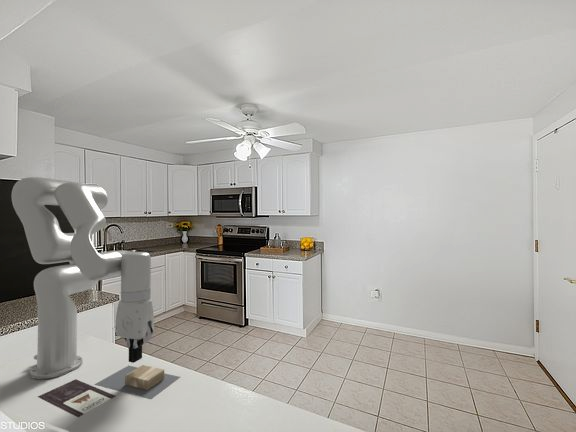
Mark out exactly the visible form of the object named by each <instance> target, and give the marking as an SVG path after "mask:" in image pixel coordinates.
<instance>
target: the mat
mask: <svg viewBox="0 0 576 432" xmlns="http://www.w3.org/2000/svg"><path fill="white" fill-rule="evenodd" d="M137 368H138V366H132V365H129V364H128V365H127V366H125V367H123V368H121V369H120V370H119V369H118V371H116V372H114V373H112V374H111V375H109V376H107V377H106V378H103V379H101V380H99V381H98V382H96V383H94V385H95V386H99V387H103V388H107V389H111V390H115V391H118V392H120V393H121V392H122V393H126V394H128V395H129V394H130V395H134V396H138V397H141V398H146V399H147V400H153V398H156V396H158V395H159V394H160V393H161V392H163V391H164V390H165V389H168V387H170V386H171V385H173V383H175V382H177V380H179V379H180V378H181V376H178V375H173V374H168V373H165V372H164V379H163V380H161V381H160V382H158V383H157V384H156V385H154V386H153V387H151V388H150V389H148V390H145V389H141V388H137V387H133V386H129V385H125V375H126V374H128V373H130V372H132V371H133V370H135V369H137Z"/></svg>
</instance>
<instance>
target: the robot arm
mask: <svg viewBox="0 0 576 432" xmlns="http://www.w3.org/2000/svg"><path fill="white" fill-rule="evenodd" d="M108 199H109V196H108V194H107V192H106V191H105V189H103V187H101V186H99V185H97V184H90V183H82V182H75V181H71V180H70V181H69V180H61V179H54V178H48V177H39V176H34V177H33V176H32V177H31V176H28V177H23V178H21V179H19V180H18V181H16V183H14V185H13V187H12V190H11V202H12V207H13V209H14V211H15V213H16V215H17V216H18V218H19V221H20V222H21V223H22V225H23V228H24V233H25V237H26V240H27V243H28V247H29V250H30V253H31V254H30V255H31V256H32V258H33V260H34V261H35V262H36V263H38V264H40V265H51V264H52V265H53V264H59V263H60V264H61V263H67V262H69V264H64V265H58V266H57V265H56V266H50V267H48V268H45V269H43V270H41V271H40V272H38V273H37V274H36V275H35V277H34V280H33V290H34V292H35V297H36V304H37V354H35V355H34V356H33V360H35V361H36V365H35V366H34V367H32V369H30V373H29V375H30V377H31V378H32V379H36V380H45V379H51V378H52V379H53V378H57V377H60V376H63V375H66V374H68V373H72V372H73V371H75V370H77V369H78V368H79V367H80V366H82V364H83V358H82V356H80V355H77V353H78V352H77V350H78V349H77V348H78V346H77V343H78V342H77V340H78V339H77V336H78V311H77V310H78V308H77V305H76V303H75V302H74V301H73V299H72V298H71V296H70V295H73V294H77V293H81V292H85V291H89V290H91V289H93V288H94V287H96V286H97V285H98V283H99V281H102V280H106V279H110V278H115V277H120V300H119V301H118V304H117V307H116V308H117V310H116V315H115V328H114V330H115V335H116V336H118V337H120V338H122V339H123V340H125V342H126V347H127V348H128V363H133V364H134V363H136V362H138V361H139V360H141V359H143V346H144V345H145V343H148V342H151V341H153V338H152V334H154V329H155V315H154V306H153V301H152V299H151V286H152V283H151V281H152V279H151V278H152V277H151V272H152V271H151V270H152V268H151V267H152V265H151V264H152V258H151V255H150V253H148V252H146V251H130V250H125V249H124V250H123V249H122V250H110V251H101V252H98V251H97V249H96V248H95V246H94V245H93V242H92V240H91V236H92V235H94V234H95V233H98V232H99V231H100V230H102V229H103V228H104V227H105V226H106V222H107V220H106V216H105V215H104V214H103V212H102V211H101V210H103V209H105V208H106V207H107V205H108V201H109V200H108ZM46 205H49V206H59V208H60V209H61V211H62V212H63V214H64V216H65V217H66V219H67V221H68V222H69V224H70V226H71V227H72V229H73V230H74V232H68V233H67V232H63V231H62V229H61V227H60V223H59V221H58V219H57V217H56V216H55V214H53V212H52V211H50V210H49V209H48V208H47V207H46Z"/></svg>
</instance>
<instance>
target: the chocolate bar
mask: <svg viewBox="0 0 576 432" xmlns="http://www.w3.org/2000/svg"><path fill="white" fill-rule="evenodd" d="M37 397H38V398H39V399H41V400H43V401H44V402H47V403H48V404H51V405H53V406H55V407H57V408H59V409H61V410H62V411H64V412H67V413H69V414H70V415H73V416H74V417H77V418H80V417H81V416H83V415H85V414H87V413H88V412H90V411H92V410H93V409H95V408H97V407H99V406H101V405H103V404H105V403H106V402H109V401H110V400H112V399H113V398H116V395H115V394H112V393H110V392H108V391H106V390H103V389H100V388H98V387H95V386H94V385H91V384H88V383H85V382H84V381H81V380H78V379H73V380H71V381H69V382H67V383H64V384H62V385H60V386H58V387H55V388H54V389H51V390H49V391H47V392H45V393H42V394H40V395H38V396H37Z"/></svg>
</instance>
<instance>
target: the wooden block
mask: <svg viewBox="0 0 576 432" xmlns="http://www.w3.org/2000/svg"><path fill="white" fill-rule="evenodd" d="M137 367H138V366H137ZM164 373H165V369H163V368H158V367H155V366H154V367H153V366H150V365H145V364H142V365H140V366H139V367H138V368H137V369H135V370H133V371H132V372H130V373H128V374H126V375H125V385H129V386H133V387H137V388H141V389H145V390H148V389H150V388H151V387H153V386H154V385H156V384H157V383H158V382H160V381H161V380H163V379H164Z"/></svg>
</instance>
